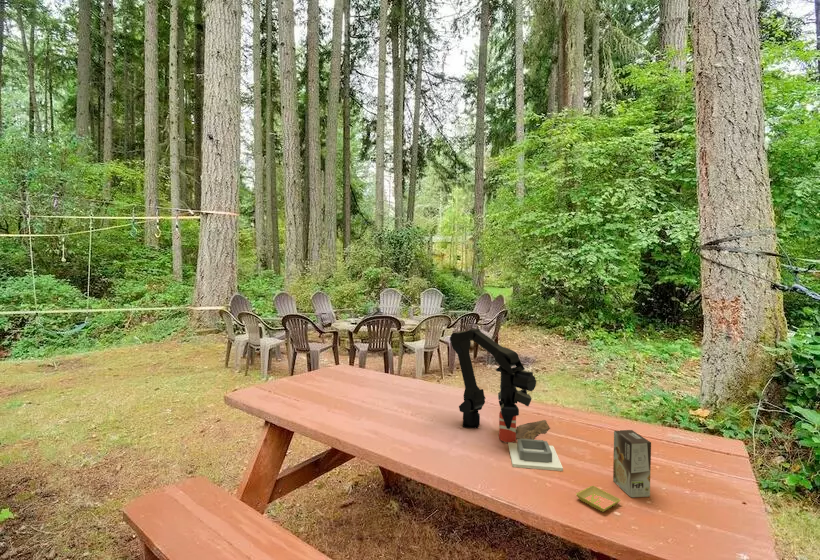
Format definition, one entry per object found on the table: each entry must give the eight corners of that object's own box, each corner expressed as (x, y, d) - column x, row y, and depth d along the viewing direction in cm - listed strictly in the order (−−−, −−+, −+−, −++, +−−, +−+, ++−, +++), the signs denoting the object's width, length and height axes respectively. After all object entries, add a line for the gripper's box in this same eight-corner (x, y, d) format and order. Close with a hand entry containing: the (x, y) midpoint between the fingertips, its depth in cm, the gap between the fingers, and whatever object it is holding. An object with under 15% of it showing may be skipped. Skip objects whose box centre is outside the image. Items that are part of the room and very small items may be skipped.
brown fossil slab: (527, 444, 148) (527, 441, 148) (502, 435, 156) (502, 432, 156) (560, 425, 165) (560, 423, 165) (536, 418, 173) (536, 416, 173)
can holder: (512, 466, 131) (512, 455, 131) (508, 445, 147) (508, 434, 146) (562, 471, 128) (563, 459, 128) (553, 448, 144) (553, 437, 144)
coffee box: (651, 496, 114) (653, 442, 114) (630, 498, 114) (632, 443, 113) (631, 479, 123) (632, 429, 123) (611, 480, 123) (612, 430, 122)
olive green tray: (592, 491, 118) (592, 484, 118) (621, 506, 110) (621, 499, 110) (574, 500, 113) (575, 493, 113) (603, 517, 106) (604, 509, 106)
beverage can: (516, 438, 153) (516, 407, 152) (514, 445, 147) (515, 413, 146) (500, 435, 155) (500, 405, 154) (498, 442, 149) (498, 411, 148)
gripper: (533, 393, 139) (533, 437, 140) (526, 378, 158) (526, 416, 158) (501, 392, 141) (501, 434, 142) (498, 377, 159) (497, 415, 160)
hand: (507, 424), depth 150 cm, fingers open, 7 cm apart
